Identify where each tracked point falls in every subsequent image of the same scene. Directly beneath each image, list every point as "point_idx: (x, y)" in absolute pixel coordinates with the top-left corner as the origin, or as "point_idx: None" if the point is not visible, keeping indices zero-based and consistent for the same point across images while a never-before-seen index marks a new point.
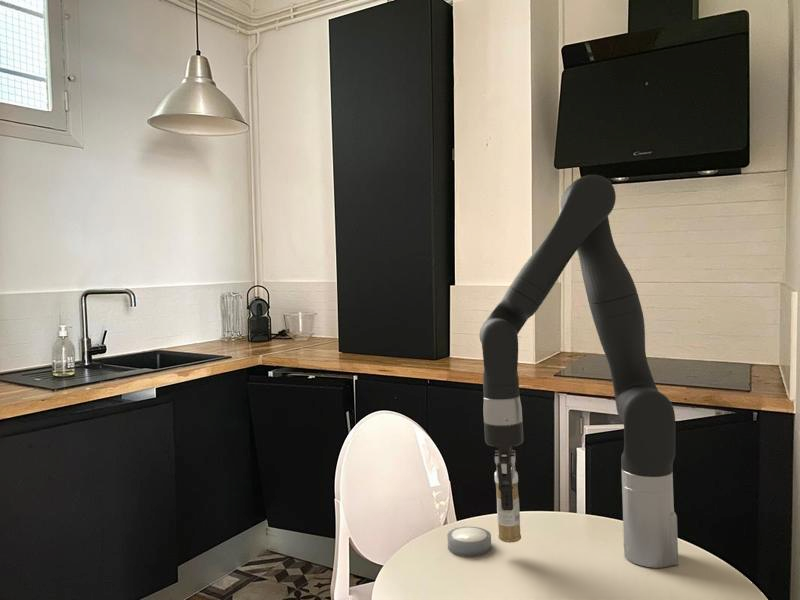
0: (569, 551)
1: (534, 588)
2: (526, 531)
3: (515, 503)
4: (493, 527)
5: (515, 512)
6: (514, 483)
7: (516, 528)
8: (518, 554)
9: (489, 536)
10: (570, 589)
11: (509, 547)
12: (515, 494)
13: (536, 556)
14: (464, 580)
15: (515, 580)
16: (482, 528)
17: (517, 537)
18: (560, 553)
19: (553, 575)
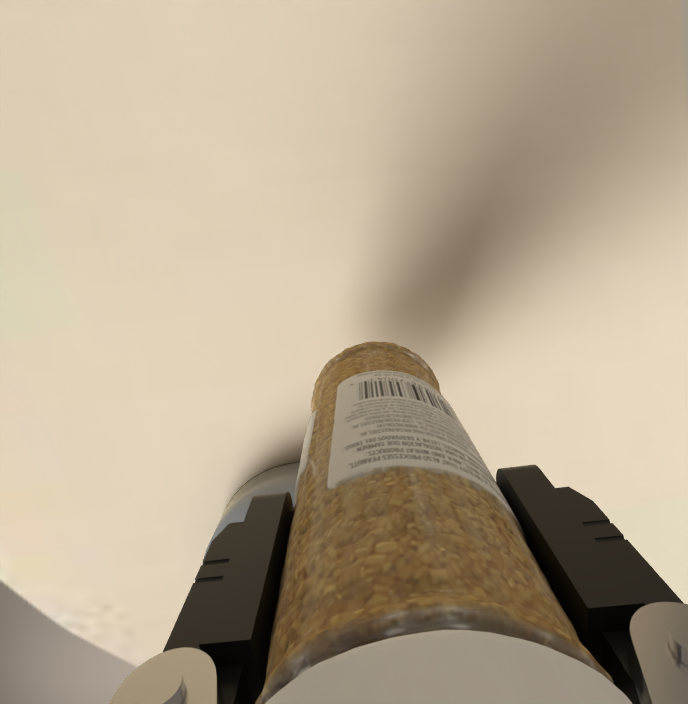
0: (225, 93)
1: (651, 227)
2: (58, 339)
3: (476, 465)
4: (71, 490)
5: (457, 428)
6: (600, 673)
7: (427, 381)
8: (328, 341)
9: (294, 497)
10: (645, 55)
11: (265, 390)
12: (489, 521)
13: (328, 256)
14: (611, 508)
15: (586, 318)
16: (209, 543)
17: (415, 360)
18: (263, 140)
19: (513, 153)
